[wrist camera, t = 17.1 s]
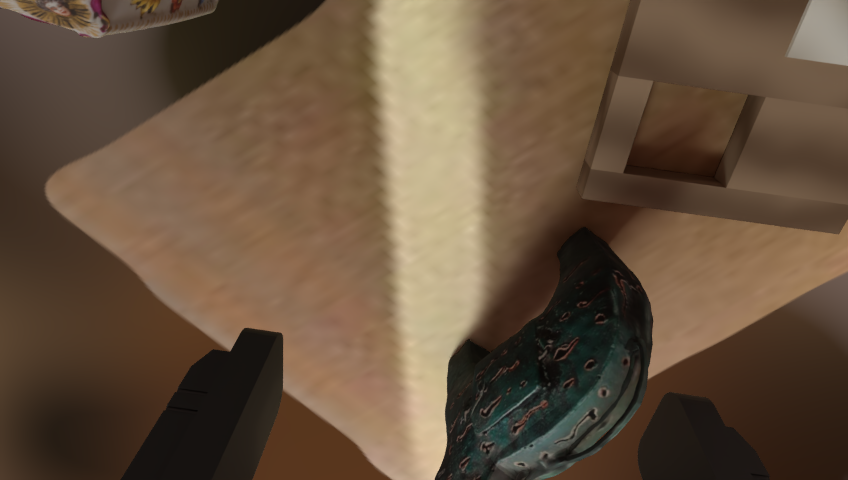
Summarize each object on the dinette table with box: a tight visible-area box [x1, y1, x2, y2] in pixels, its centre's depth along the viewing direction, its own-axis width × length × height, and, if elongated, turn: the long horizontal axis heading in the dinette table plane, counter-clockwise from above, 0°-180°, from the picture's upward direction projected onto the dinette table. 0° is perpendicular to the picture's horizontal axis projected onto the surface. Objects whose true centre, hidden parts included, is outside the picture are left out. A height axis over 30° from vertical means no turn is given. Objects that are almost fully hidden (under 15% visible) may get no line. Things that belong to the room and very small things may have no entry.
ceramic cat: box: [435, 227, 653, 480], centre depth 37 cm, size 20×6×20 cm, turn 144°
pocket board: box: [576, 0, 848, 234], centre depth 34 cm, size 21×19×2 cm
